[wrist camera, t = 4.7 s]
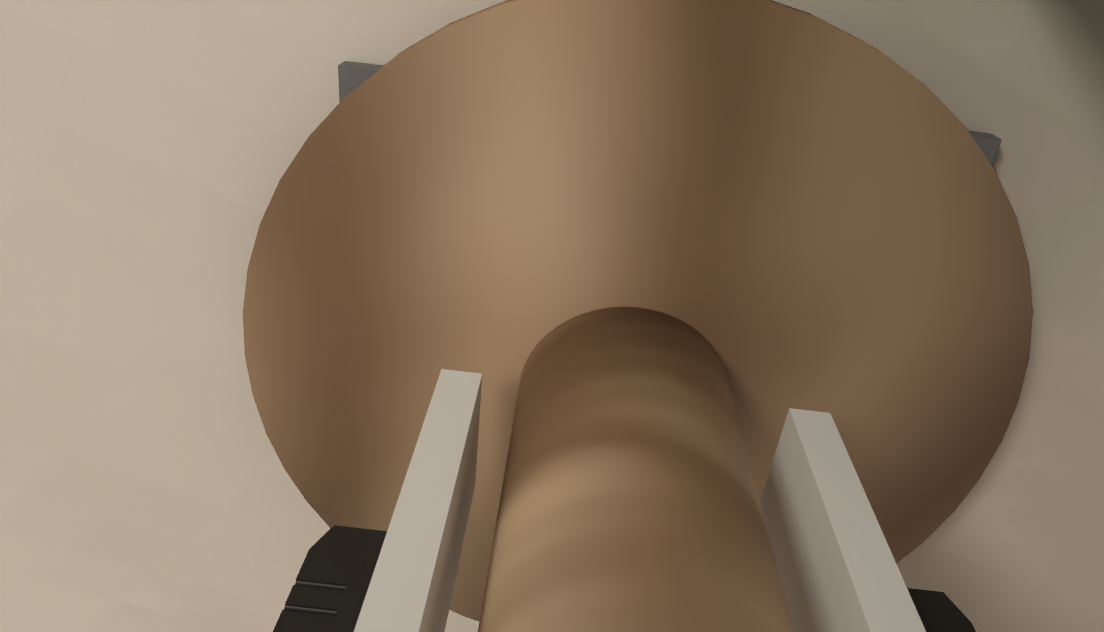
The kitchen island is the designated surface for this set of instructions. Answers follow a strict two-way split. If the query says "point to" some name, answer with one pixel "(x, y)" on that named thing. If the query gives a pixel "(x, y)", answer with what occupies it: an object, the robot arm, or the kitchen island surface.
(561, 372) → the lid
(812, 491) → the robot arm
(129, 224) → the kitchen island surface
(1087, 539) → the kitchen island surface
